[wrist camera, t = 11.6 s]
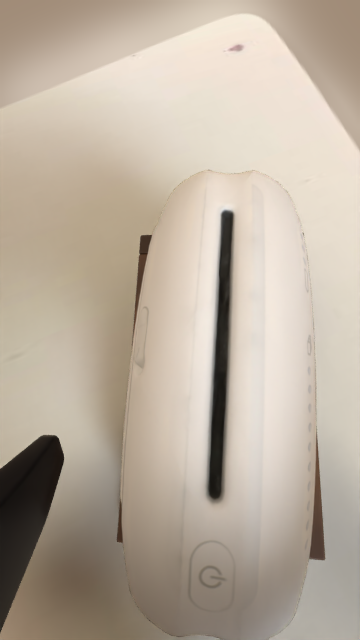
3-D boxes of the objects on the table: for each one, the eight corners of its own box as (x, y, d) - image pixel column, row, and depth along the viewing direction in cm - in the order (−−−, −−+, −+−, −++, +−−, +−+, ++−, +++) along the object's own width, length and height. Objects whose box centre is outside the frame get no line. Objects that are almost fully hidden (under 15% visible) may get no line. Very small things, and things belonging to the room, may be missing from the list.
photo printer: (259, 508, 16) (375, 769, 4) (170, 498, 17) (51, 703, 5) (262, 303, 19) (338, 111, 7) (186, 300, 19) (134, 117, 7)
